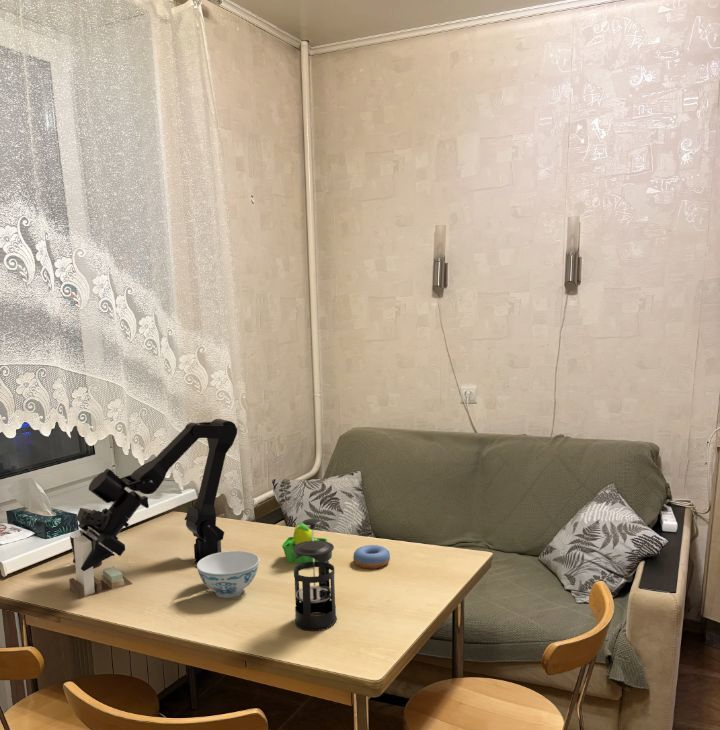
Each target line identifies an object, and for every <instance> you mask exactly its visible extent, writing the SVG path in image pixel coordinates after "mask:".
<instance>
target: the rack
mask: <svg viewBox="0 0 720 730" xmlns="http://www.w3.org/2000/svg"><path fill="white" fill-rule="evenodd" d="M123 579H124V586H121V587H117V588H114V589H112V588H111V587H110V586H108V585H107V584H106V583H105V582H104V581H103V580H102V579H100V580H99V579H98V578H97V577H95V576H94V589H95V593H93V594H89V595H86V596H84V587H83V586H82V585H80V584H79V583H78V582H77V581H76V578H74V577H71V578H69V579H68V580H69V590H70V591H71V592H72V593H73V594H74V595H75V596H76V597H77V598H78V599H79V600H81V599H85V598H88V597H92V596H95V595H99V594H102V593H106V592H109V591H113V590H117V589H119V588H124V587H126V586H131V585H133V582H132V581H130V580H129V579H127V578H126V577H124V575H123Z"/></svg>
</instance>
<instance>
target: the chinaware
mask: <svg viewBox="0 0 720 730" xmlns="http://www.w3.org/2000/svg"><path fill="white" fill-rule="evenodd" d="M259 564H260V557H259V556H258V555H257V554H256V553H253V552H250V551H245V550H244V551H243V550H227V551H221V552H219V553H215V554H212V555H209V556H206V557H204V558H203V559H201V560H200V561H199V562H198V563H196V568H197V572H198V575H199V577H200V579H201V581H202V583H203V584H204V585H205V586H206V588H208V590H209V589H210V590H211V591H213V592H215V595H216V596H217V597H219V598H224V599H225V598H226V599H229V598H230V597H231V598H235V597H238V596H240V595H241V594H243V592H244V589H245V588H247V587H248V586H249V585H250V584H251V583H252V581H254V578H255V576H256V574H257V572H258V569H259Z"/></svg>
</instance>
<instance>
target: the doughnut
mask: <svg viewBox="0 0 720 730" xmlns="http://www.w3.org/2000/svg"><path fill="white" fill-rule="evenodd" d="M352 559H353V563H354V564H355V565H356V566H358V567H360V568H362V567H363V568H362V569H369V568H373V569H379V568H378V567H380V568H382V566H383V567H385V566H386V565H387V564H388V563H389V562H390V559H391V554H390V550H389V549H387V548H386V547H384V546H382V545H379V544H378V545H377V544H368V545H363V546H360V547H358V548H356V549H355V551H354V552H353V557H352ZM384 565H385V566H384Z"/></svg>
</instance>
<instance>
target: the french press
mask: <svg viewBox="0 0 720 730" xmlns="http://www.w3.org/2000/svg"><path fill="white" fill-rule="evenodd" d="M322 523H323V520H321V519H319V518H307V519H305V520H303V521H302V524H305V525H306V526H310V528H309V529H310V530H311V531H312V541H306V542H302V543H299V544H297V545H295V546H294V547H293V552H294V553H295V559H298V558H299V557H300V556H309V557H312V558H313V562H306V563H299V564H297V565H296V566H295V567H294V569H293V578H294V595H295V597H294V599H295V607H294V609H295V610H294V612H295V613H294V614H295V618H294V625H295V626H296V627H297V628H298V629H300V630H303V631H309V632H319V630H320V631H324V629H325V630H327V628H328V629H330V628H332V627H334V626H335V625H336V624H337V622H336V621H337V620H338V617H337V611H336V608H337V607H336V605H337V604H336V597H335V595H336V594H335V592H336V591H335V588H336V587H335V566H334V565H333V564H332V563H330V562H329V560H331V559H332V557H333V551H334V548H335V547H334V545H333V543H332V542H328V541H327V542H326V541H314V537H315V536H314V530H315V529H316V528H315V527H316V526H319V525H321V524H322ZM315 560H317V561H315ZM309 568H312V570H313V573H312V575H313V576H305V575H301V574H300V571H303V570H305V569H309ZM316 568H317V569H318V575H317V576H316ZM300 583H301V584H302V586H301V587H302V588H300ZM317 583H318V585H316V584H317ZM311 584H313V585H311ZM312 614H318V615H312ZM335 623H336V624H335ZM334 624H335V625H334ZM333 625H334V626H333ZM331 626H332V627H331ZM329 627H330V628H329Z"/></svg>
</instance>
